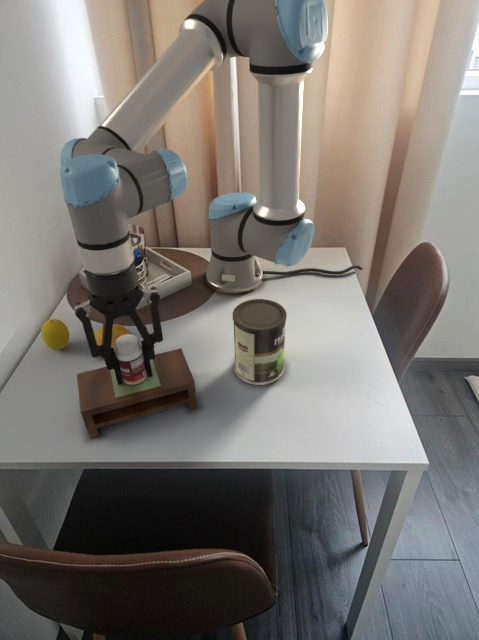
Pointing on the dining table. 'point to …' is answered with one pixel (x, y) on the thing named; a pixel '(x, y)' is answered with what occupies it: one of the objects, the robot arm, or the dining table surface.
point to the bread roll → (116, 333)
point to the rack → (135, 392)
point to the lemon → (55, 334)
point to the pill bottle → (130, 359)
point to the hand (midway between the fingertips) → (134, 375)
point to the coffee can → (259, 341)
